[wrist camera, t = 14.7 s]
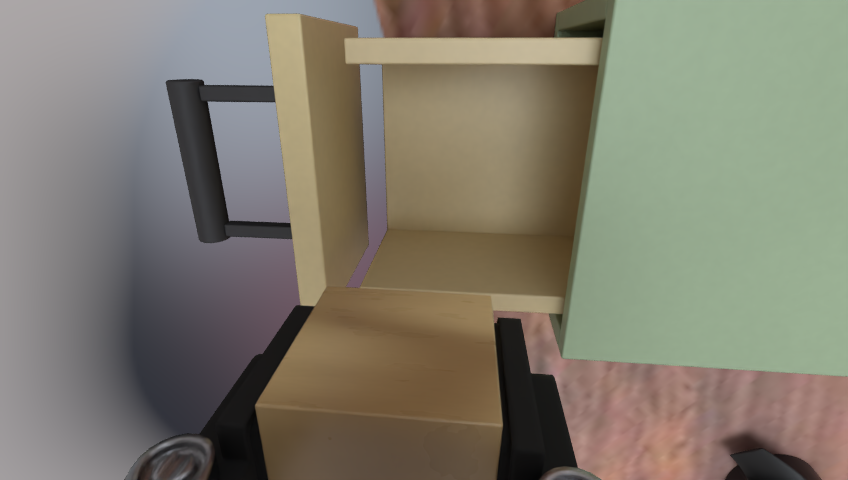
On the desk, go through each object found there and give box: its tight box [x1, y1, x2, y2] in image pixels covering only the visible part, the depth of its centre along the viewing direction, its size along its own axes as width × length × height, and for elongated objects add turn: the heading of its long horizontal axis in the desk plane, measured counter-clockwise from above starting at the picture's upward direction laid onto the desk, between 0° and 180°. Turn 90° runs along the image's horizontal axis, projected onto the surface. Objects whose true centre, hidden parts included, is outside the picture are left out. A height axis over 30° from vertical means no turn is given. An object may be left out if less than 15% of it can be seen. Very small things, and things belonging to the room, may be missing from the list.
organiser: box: [549, 0, 848, 377], centre depth 18 cm, size 16×13×10 cm
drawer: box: [166, 14, 603, 314], centre depth 20 cm, size 20×11×8 cm, turn 90°
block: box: [255, 286, 503, 480], centre depth 10 cm, size 4×4×4 cm
